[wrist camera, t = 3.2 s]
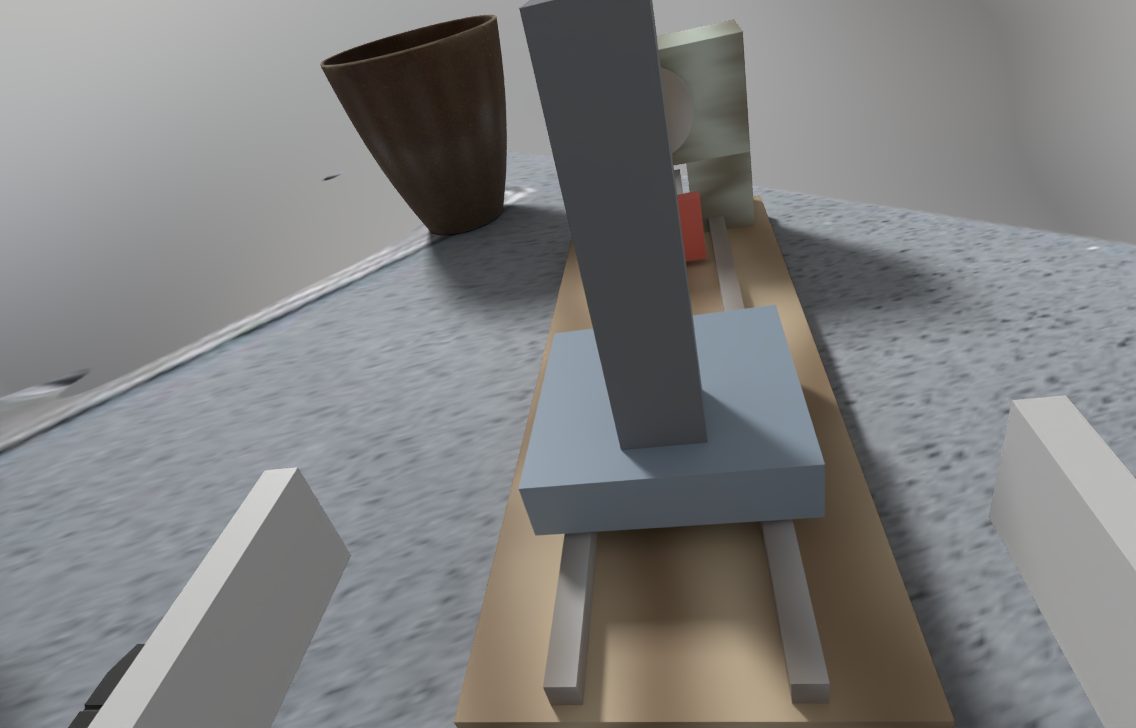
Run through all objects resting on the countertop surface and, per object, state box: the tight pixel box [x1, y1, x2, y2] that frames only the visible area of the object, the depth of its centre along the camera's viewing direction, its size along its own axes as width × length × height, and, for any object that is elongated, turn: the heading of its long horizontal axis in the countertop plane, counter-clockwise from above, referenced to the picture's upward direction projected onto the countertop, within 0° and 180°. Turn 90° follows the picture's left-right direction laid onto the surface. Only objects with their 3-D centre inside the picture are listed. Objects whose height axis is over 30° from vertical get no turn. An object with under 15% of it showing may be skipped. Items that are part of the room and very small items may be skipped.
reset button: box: [674, 170, 706, 261], centre depth 43 cm, size 5×7×4 cm
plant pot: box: [320, 15, 507, 235], centre depth 58 cm, size 15×15×16 cm
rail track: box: [454, 19, 955, 728], centre depth 31 cm, size 14×38×14 cm, turn 174°
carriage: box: [519, 0, 825, 536], centre depth 22 cm, size 10×10×16 cm
